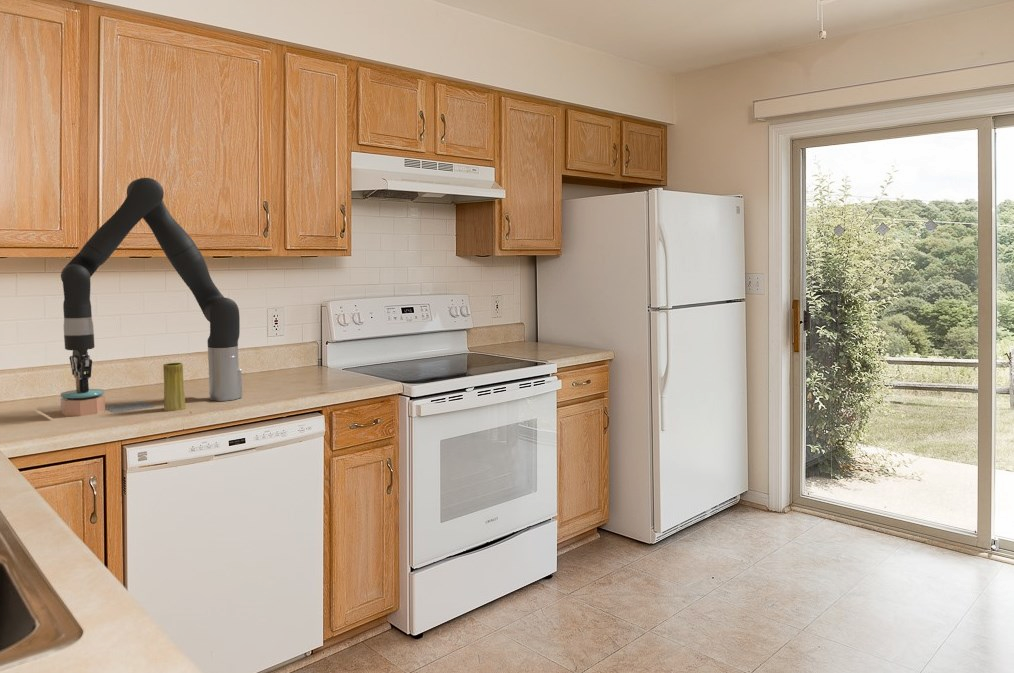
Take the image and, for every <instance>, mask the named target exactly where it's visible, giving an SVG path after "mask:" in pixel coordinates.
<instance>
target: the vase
mask: <svg viewBox="0 0 1014 673" xmlns="http://www.w3.org/2000/svg"><path fill="white" fill-rule="evenodd" d="M162 370H163V407H164V408H163V410H164V411H166V412H177V411H184V410H186V409H187V408H186V407H187V406H186V398H185V397H186V396H185V388H184V387H185V386H184V366H183V363H182V362H169V363H164V364H163V369H162Z"/></svg>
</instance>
